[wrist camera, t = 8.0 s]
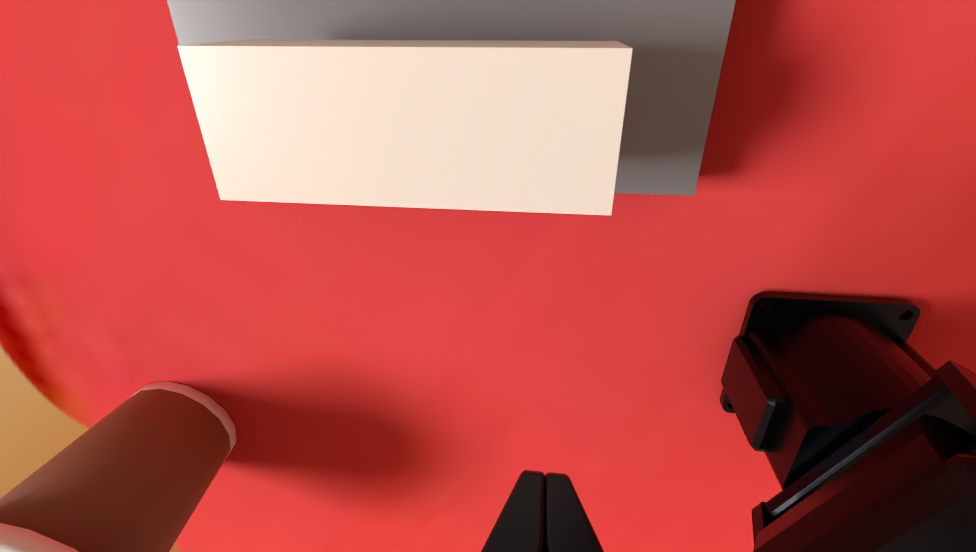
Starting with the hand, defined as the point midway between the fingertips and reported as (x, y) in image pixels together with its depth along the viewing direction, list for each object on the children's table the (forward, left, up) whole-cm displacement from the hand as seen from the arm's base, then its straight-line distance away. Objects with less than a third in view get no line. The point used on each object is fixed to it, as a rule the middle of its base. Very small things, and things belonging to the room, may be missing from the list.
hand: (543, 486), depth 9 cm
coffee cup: (+21, +14, -13) cm, 28 cm away
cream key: (+4, -5, -9) cm, 11 cm away
